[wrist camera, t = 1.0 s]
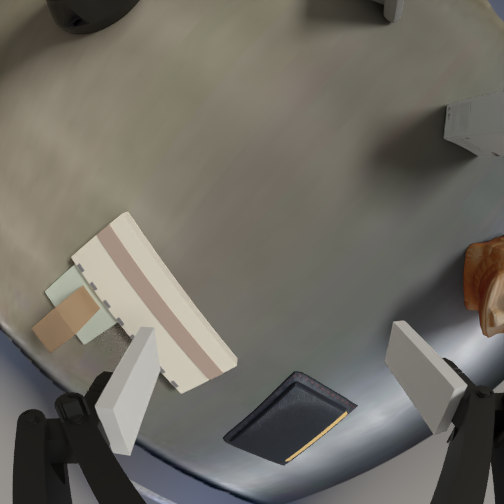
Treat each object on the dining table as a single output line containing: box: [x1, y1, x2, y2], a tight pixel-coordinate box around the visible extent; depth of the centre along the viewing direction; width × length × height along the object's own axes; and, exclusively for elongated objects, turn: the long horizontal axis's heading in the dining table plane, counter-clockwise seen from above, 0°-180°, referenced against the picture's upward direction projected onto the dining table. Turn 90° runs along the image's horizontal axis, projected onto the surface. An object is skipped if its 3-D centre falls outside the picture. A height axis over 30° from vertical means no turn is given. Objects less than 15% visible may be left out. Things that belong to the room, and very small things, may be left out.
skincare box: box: [443, 91, 504, 156], centre depth 29 cm, size 8×6×15 cm
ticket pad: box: [71, 212, 237, 394], centre depth 40 cm, size 25×10×2 cm, turn 33°
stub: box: [31, 264, 118, 353], centre depth 36 cm, size 10×8×9 cm
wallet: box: [223, 371, 358, 465], centre depth 47 cm, size 20×2×15 cm
